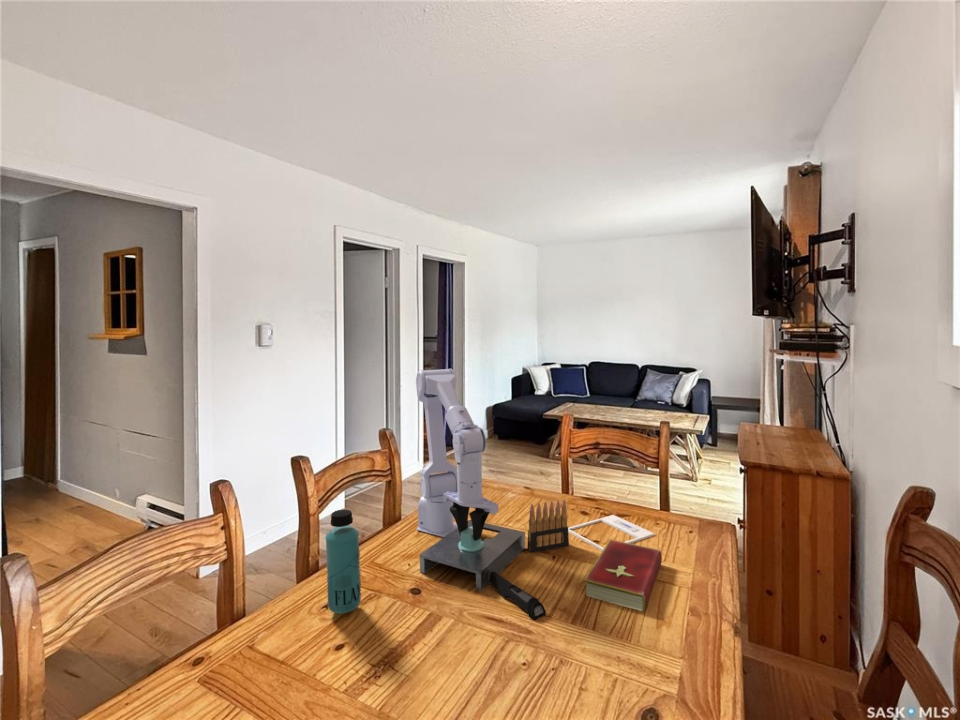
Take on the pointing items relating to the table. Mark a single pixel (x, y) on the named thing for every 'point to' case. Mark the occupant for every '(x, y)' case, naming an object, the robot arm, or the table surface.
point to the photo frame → (618, 524)
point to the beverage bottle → (343, 564)
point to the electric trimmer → (518, 596)
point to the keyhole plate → (476, 553)
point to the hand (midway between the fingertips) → (470, 536)
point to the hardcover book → (624, 574)
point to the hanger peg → (469, 541)
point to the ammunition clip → (548, 528)
